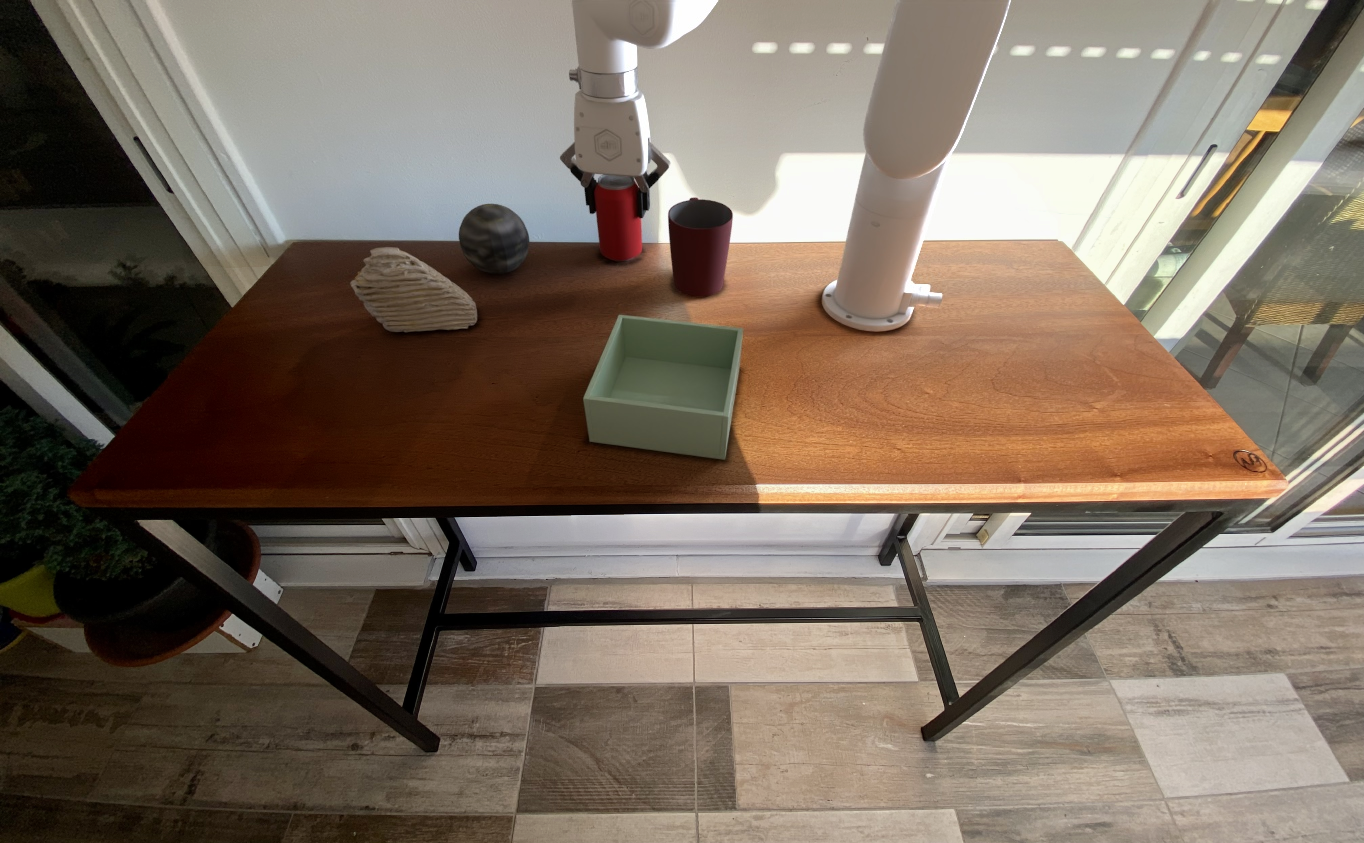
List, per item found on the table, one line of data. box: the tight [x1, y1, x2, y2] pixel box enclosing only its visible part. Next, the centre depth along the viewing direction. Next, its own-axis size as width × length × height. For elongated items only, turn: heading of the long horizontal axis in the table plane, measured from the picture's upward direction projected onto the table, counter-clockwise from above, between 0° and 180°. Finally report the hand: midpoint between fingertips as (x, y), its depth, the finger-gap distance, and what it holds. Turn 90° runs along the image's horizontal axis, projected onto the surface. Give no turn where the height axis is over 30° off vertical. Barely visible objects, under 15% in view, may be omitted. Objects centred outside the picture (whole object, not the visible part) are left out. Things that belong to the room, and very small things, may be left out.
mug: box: [667, 197, 734, 298], centre depth 86 cm, size 12×9×11 cm
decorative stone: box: [458, 203, 530, 275], centre depth 88 cm, size 10×10×10 cm
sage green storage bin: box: [582, 314, 744, 461], centre depth 68 cm, size 15×15×7 cm
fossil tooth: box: [349, 246, 478, 333], centre depth 78 cm, size 12×6×15 cm
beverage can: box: [594, 174, 643, 262], centre depth 91 cm, size 7×7×12 cm
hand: (618, 211), depth 90 cm, fingers closed on beverage can, 6 cm apart
